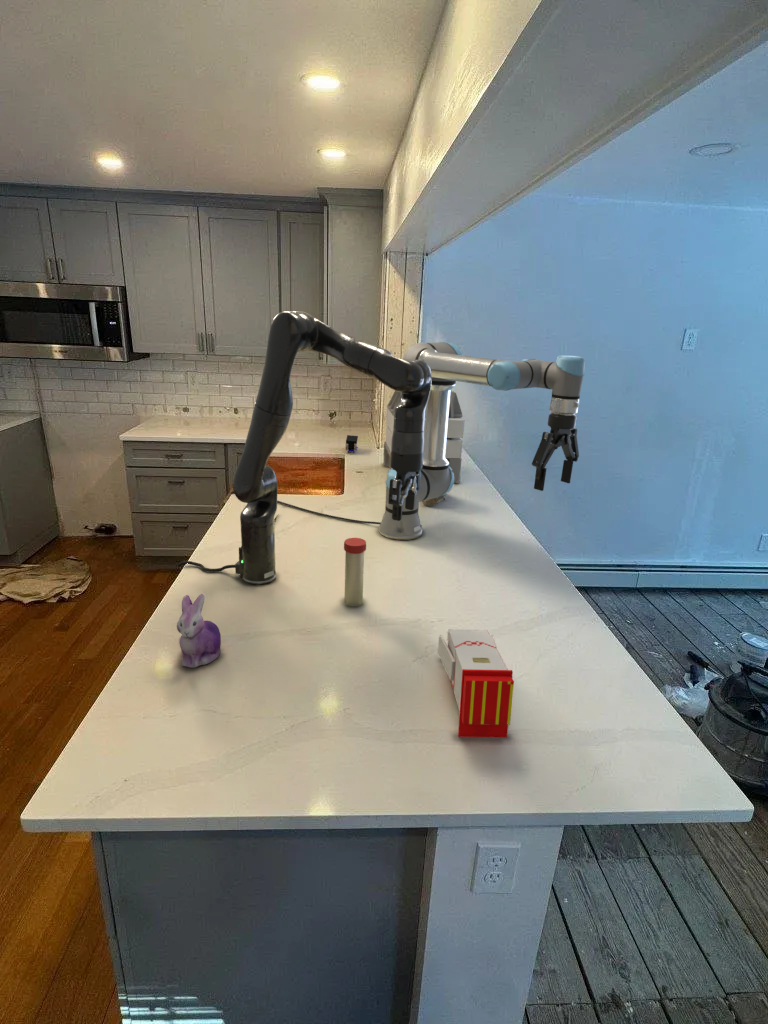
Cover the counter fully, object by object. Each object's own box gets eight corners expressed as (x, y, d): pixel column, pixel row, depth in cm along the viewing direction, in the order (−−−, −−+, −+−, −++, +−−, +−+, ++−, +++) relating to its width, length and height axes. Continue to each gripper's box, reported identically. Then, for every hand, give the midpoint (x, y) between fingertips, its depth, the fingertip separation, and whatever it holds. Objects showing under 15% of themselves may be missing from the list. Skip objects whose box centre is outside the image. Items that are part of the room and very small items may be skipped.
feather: (285, 509, 222) (288, 505, 222) (267, 533, 195) (270, 529, 195) (282, 506, 222) (284, 502, 221) (263, 530, 195) (266, 526, 195)
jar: (348, 607, 150) (349, 548, 144) (341, 599, 154) (342, 541, 148) (365, 604, 152) (367, 545, 146) (358, 596, 156) (360, 538, 150)
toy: (488, 613, 130) (523, 677, 101) (484, 667, 133) (517, 744, 104) (435, 612, 130) (455, 676, 101) (432, 666, 133) (451, 743, 103)
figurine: (183, 674, 120) (177, 612, 115) (175, 649, 128) (169, 590, 123) (228, 663, 124) (224, 603, 119) (218, 640, 132) (214, 582, 127)
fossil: (417, 481, 247) (446, 462, 242) (430, 497, 250) (459, 479, 245) (415, 502, 227) (446, 482, 222) (429, 519, 230) (460, 500, 225)
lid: (348, 555, 144) (349, 547, 143) (340, 546, 149) (340, 539, 148) (369, 552, 146) (369, 544, 145) (360, 543, 151) (360, 536, 150)
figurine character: (357, 456, 305) (358, 447, 318) (357, 443, 301) (358, 434, 315) (344, 456, 304) (346, 446, 318) (345, 443, 301) (346, 433, 315)
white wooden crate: (382, 463, 289) (386, 382, 275) (445, 464, 293) (451, 384, 279) (390, 482, 257) (394, 392, 243) (460, 483, 261) (468, 394, 247)
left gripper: (403, 441, 139) (399, 503, 145) (380, 453, 127) (377, 520, 132) (432, 445, 136) (427, 508, 142) (411, 457, 124) (407, 526, 129)
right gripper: (548, 419, 148) (537, 496, 155) (598, 411, 163) (586, 482, 171) (525, 414, 153) (515, 489, 160) (575, 407, 169) (564, 476, 176)
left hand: (403, 514), depth 137 cm, fingers open, 8 cm apart
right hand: (552, 485), depth 166 cm, fingers open, 13 cm apart
